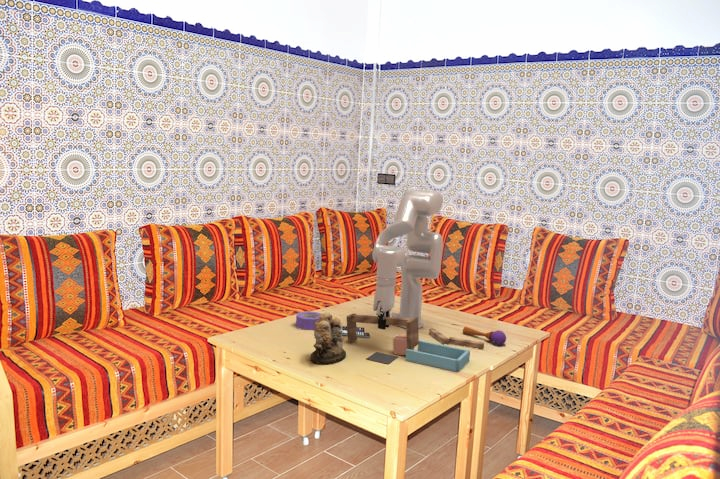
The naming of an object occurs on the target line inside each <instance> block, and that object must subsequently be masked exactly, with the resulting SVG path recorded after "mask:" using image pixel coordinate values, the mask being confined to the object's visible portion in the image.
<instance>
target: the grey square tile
mask: <svg viewBox="0 0 720 479" xmlns="http://www.w3.org/2000/svg"><path fill="white" fill-rule="evenodd" d="M398 358H399V356H398V355H394V354H389V353H383V352H379V351H376V352H374V353H372V354H371V355H369V356H368V357H366V358H365V360H367V361H371V362H377V363H380V364H384V365H390V364H391V363H392V362H394V361H395V360H397V359H398Z"/></svg>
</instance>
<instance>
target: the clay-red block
mask: <svg viewBox="0 0 720 479" xmlns="http://www.w3.org/2000/svg"><path fill="white" fill-rule="evenodd" d="M392 349H393V352H392V353H393V354H392V355H397V356H398V355H399V356H406V350H407V334H398V335H395V337H393V338H392ZM411 350H415V347H414V348H413V349H411Z"/></svg>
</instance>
